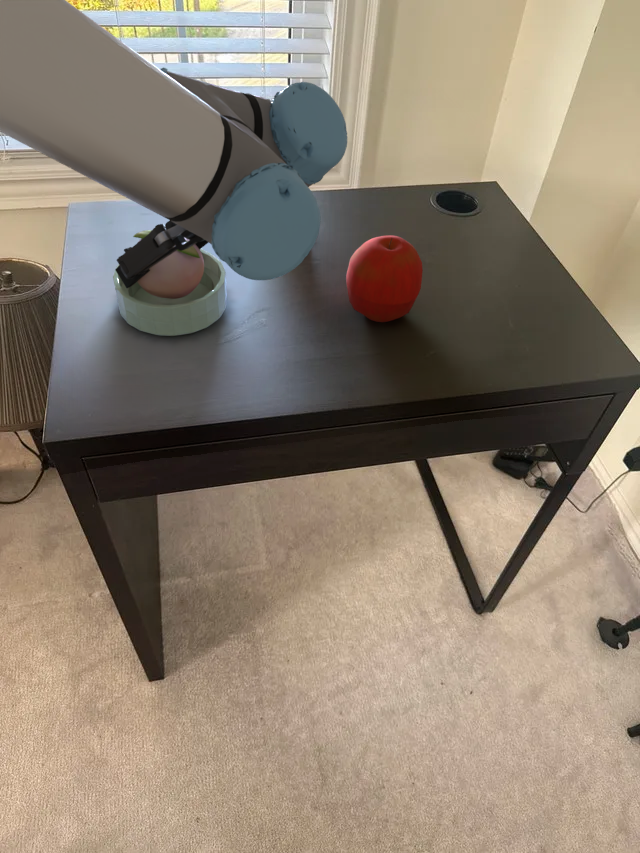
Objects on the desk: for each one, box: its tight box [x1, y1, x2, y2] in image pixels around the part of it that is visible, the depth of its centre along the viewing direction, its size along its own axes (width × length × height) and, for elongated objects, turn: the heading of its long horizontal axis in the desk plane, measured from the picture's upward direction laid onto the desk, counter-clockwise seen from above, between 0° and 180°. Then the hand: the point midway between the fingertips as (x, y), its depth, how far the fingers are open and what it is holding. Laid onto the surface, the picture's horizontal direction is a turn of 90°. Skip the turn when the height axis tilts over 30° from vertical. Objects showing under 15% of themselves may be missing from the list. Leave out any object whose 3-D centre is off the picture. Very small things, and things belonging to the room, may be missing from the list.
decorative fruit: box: [132, 229, 204, 299], centre depth 82 cm, size 9×8×10 cm
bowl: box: [112, 248, 228, 337], centre depth 85 cm, size 14×14×5 cm
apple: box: [345, 235, 424, 323], centre depth 85 cm, size 10×10×12 cm
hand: (153, 263), depth 84 cm, fingers closed on decorative fruit, 9 cm apart
